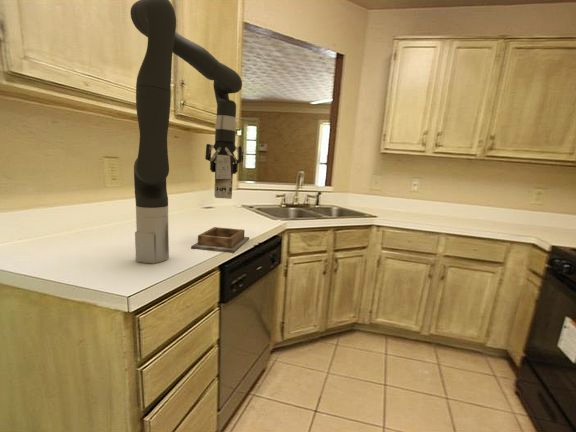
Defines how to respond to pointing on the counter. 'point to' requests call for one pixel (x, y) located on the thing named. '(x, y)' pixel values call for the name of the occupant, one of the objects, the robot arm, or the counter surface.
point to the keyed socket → (221, 240)
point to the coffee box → (223, 176)
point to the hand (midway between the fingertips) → (223, 172)
